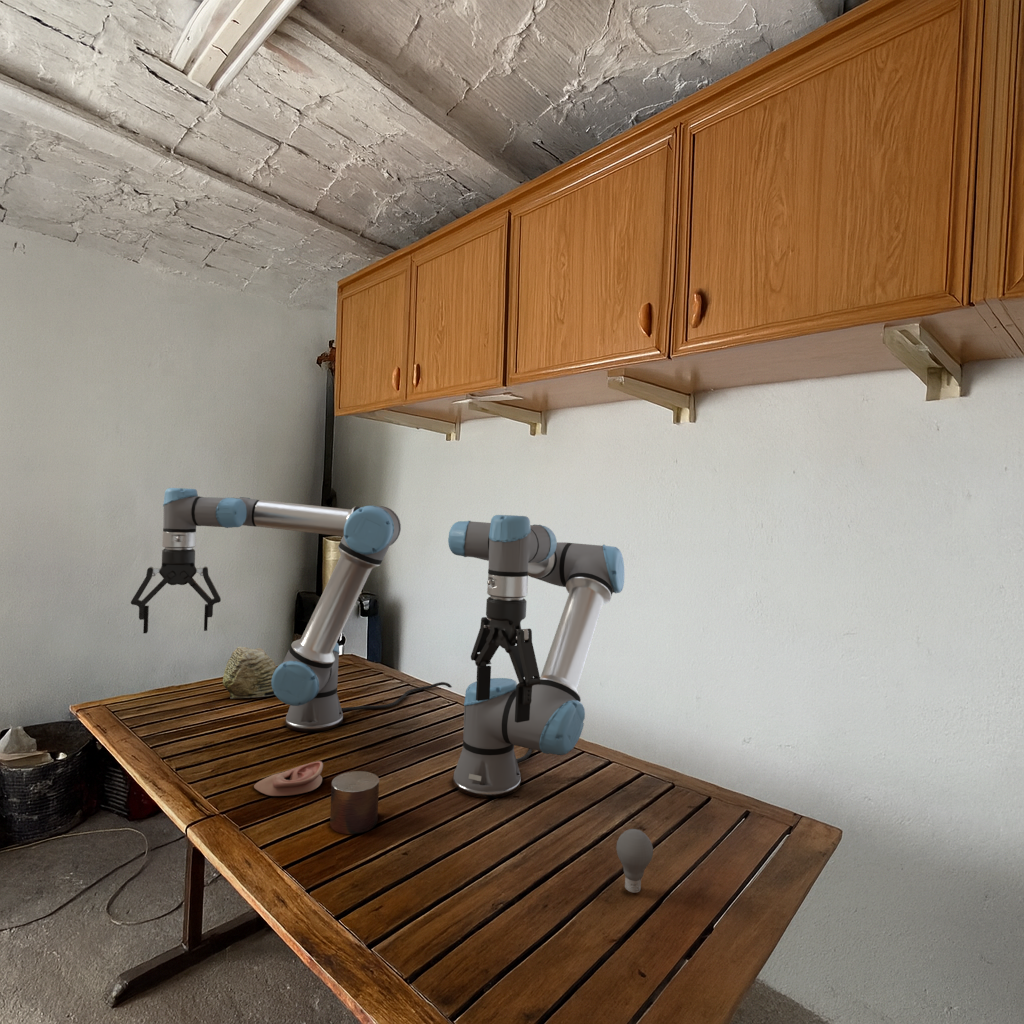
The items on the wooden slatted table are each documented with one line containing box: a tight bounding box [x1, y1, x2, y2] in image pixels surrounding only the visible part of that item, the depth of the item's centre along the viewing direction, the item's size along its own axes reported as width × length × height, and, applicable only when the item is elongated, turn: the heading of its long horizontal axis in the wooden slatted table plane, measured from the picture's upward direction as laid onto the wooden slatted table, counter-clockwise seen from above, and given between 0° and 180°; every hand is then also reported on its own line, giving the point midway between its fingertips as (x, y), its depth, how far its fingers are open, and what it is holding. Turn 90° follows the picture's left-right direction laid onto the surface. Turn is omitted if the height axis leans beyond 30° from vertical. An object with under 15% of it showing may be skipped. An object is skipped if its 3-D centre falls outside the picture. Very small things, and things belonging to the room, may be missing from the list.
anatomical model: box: [253, 760, 324, 797], centre depth 138 cm, size 13×4×12 cm
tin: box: [329, 770, 380, 835], centre depth 124 cm, size 9×9×8 cm
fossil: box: [222, 646, 277, 699], centre depth 198 cm, size 9×18×15 cm, turn 132°
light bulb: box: [615, 828, 654, 894], centre depth 106 cm, size 6×6×10 cm
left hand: (176, 631), depth 162 cm, fingers open, 13 cm apart
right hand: (501, 709), depth 119 cm, fingers open, 13 cm apart
